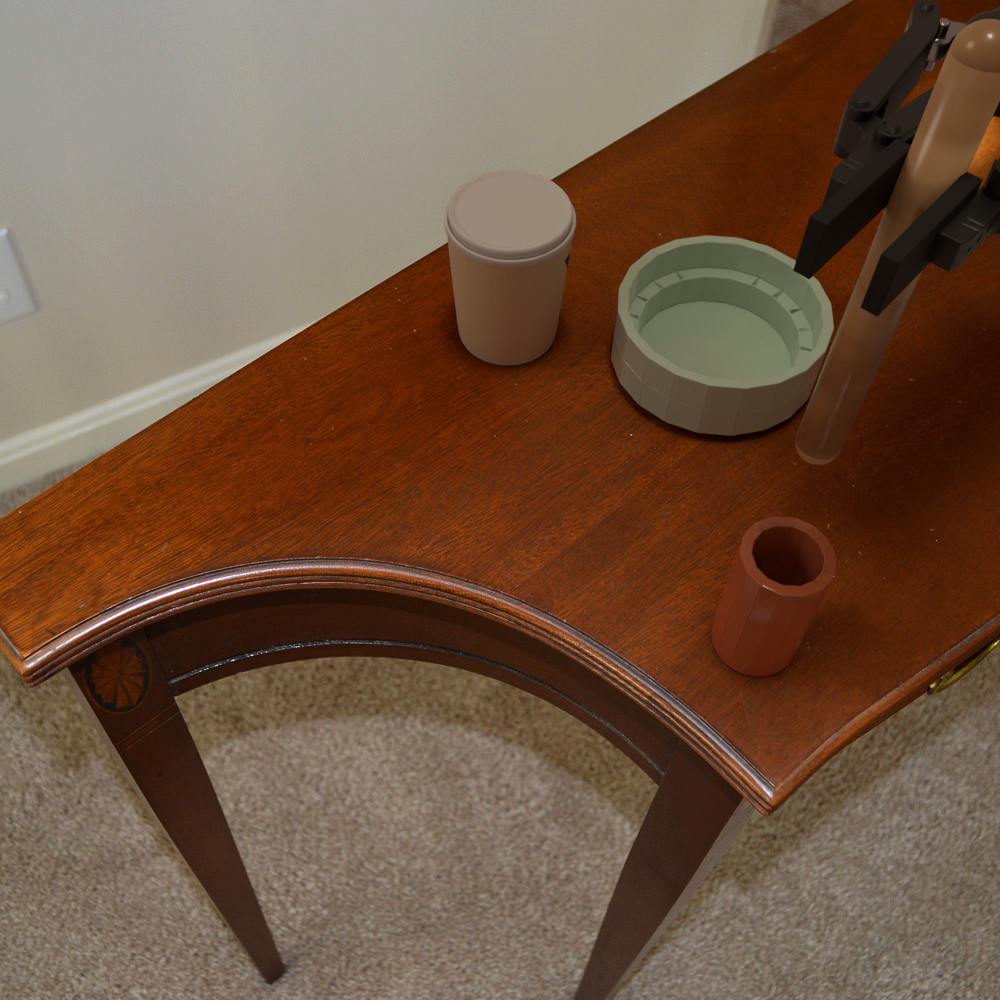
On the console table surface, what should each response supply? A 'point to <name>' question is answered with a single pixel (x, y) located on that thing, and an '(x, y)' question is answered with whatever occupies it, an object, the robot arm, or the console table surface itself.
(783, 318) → the bowl
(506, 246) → the coffee cup
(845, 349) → the stick
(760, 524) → the crock
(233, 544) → the console table surface
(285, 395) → the console table surface
